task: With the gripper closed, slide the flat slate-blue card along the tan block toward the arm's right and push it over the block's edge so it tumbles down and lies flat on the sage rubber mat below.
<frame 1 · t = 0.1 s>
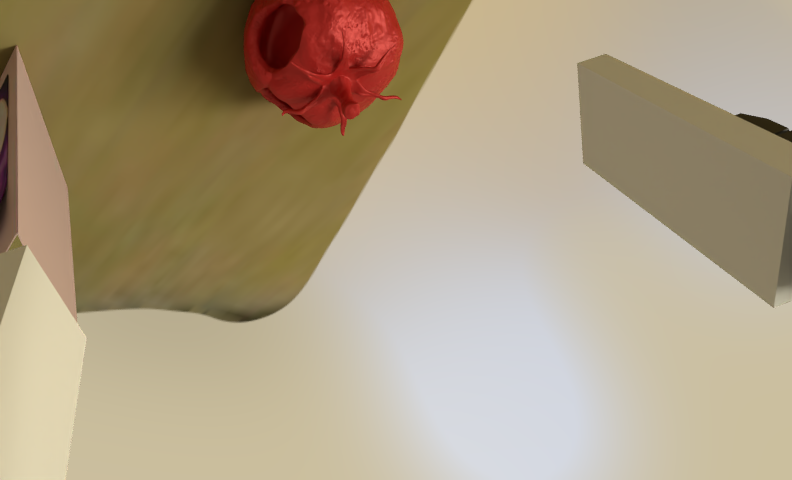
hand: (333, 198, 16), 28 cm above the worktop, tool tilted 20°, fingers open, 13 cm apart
pomegranate: (308, 19, 44), on the worktop
greeting card: (30, 131, 43), on the worktop
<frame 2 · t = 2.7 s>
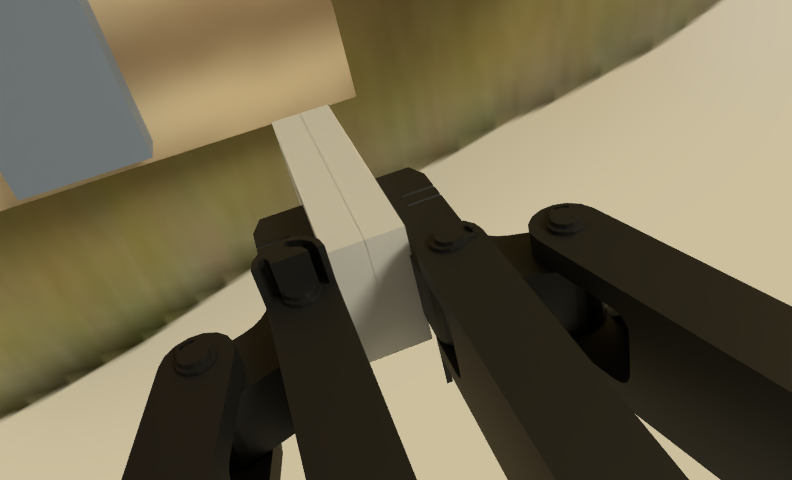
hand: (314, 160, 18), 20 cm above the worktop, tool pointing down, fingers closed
slate card: (47, 81, 29), point 4 cm above the worktop, touching tan block
tan block: (120, 38, 33), on the worktop
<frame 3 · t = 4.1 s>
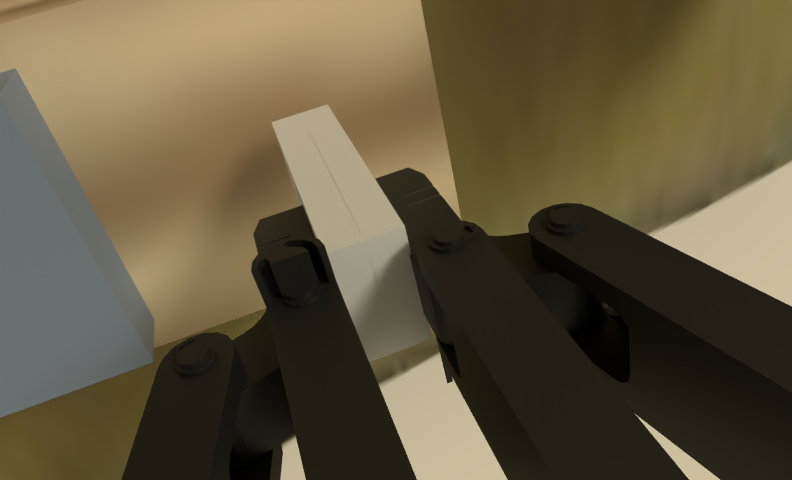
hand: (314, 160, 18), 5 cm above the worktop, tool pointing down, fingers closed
tan block: (104, 152, 21), on the worktop
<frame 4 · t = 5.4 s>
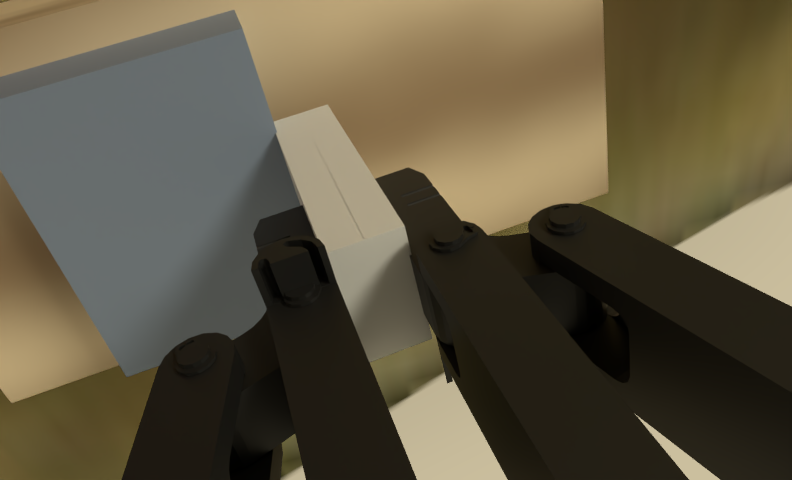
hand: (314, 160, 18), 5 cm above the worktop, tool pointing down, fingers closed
slate card: (176, 187, 18), point 4 cm above the worktop, touching gripper
tan block: (264, 106, 22), on the worktop
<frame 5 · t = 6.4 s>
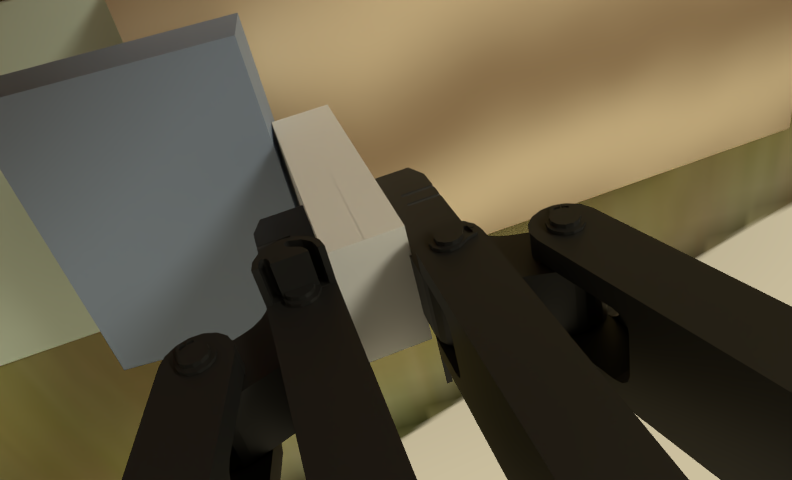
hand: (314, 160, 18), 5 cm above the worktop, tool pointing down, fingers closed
slate card: (180, 187, 18), point 4 cm above the worktop, tilted 7°, touching gripper
tan block: (467, 43, 23), on the worktop
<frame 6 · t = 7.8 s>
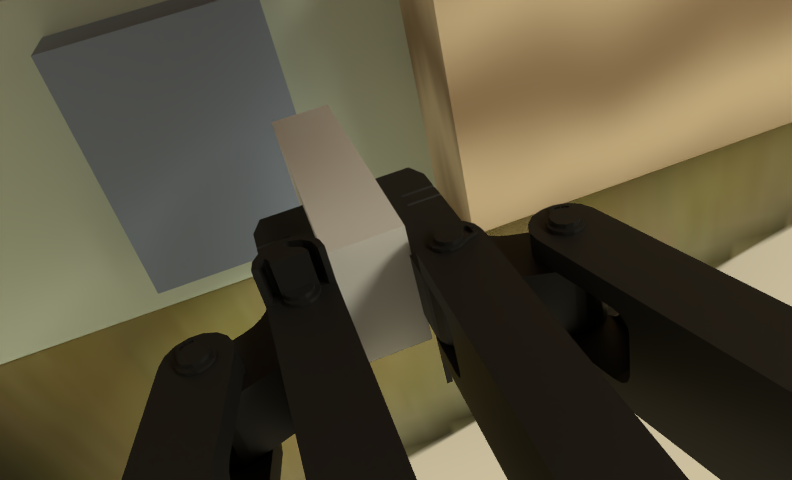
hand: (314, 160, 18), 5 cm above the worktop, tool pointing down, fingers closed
slate card: (202, 155, 20), point 2 cm above the worktop, tilted 180°, touching rubber mat
rubber mat: (166, 149, 22), on the worktop
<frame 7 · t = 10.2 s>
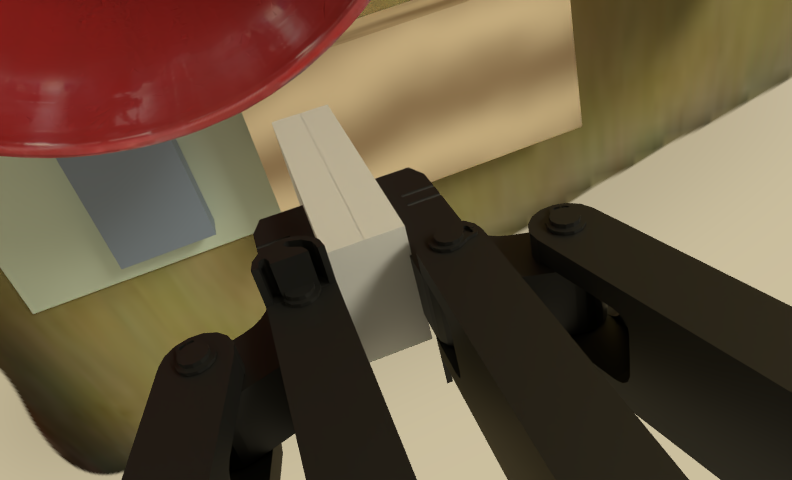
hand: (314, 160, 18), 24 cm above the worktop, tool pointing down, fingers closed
slate card: (139, 197, 39), point 2 cm above the worktop, tilted 180°, touching rubber mat
rubber mat: (124, 192, 41), on the worktop
tan block: (403, 87, 43), on the worktop
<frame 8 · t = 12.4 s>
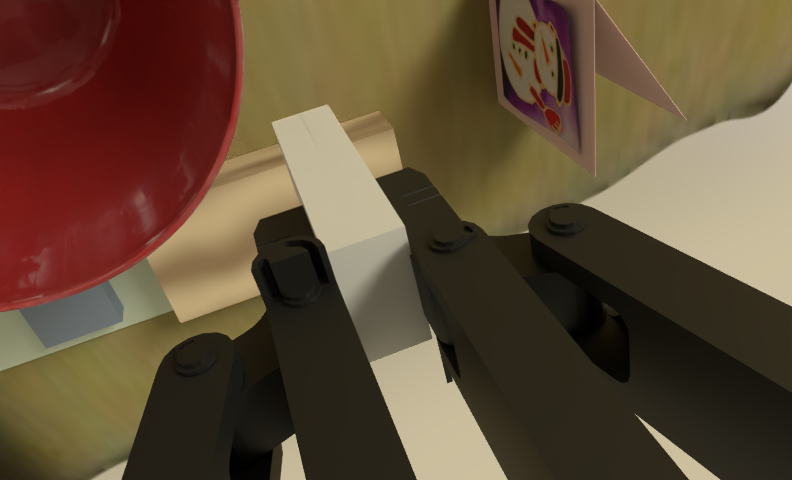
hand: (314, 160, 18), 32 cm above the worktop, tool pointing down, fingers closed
slate card: (59, 296, 50), point 2 cm above the worktop, tilted 180°, touching rubber mat
rubber mat: (49, 287, 52), on the worktop
greeting card: (524, 24, 53), on the worktop
tan block: (276, 205, 54), on the worktop
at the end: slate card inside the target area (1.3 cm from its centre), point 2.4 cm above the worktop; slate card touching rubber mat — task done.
